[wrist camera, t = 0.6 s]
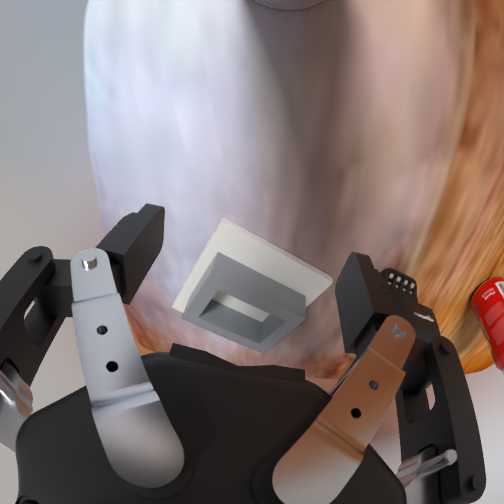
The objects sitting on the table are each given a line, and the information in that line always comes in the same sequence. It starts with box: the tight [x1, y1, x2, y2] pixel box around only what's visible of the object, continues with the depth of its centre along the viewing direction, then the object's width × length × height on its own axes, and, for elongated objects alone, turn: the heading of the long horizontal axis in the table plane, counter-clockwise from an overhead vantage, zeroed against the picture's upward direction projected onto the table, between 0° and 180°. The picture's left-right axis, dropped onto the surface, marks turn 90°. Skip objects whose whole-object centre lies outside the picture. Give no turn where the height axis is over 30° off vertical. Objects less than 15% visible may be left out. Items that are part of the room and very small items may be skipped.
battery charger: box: [380, 268, 440, 343], centre depth 30 cm, size 7×4×11 cm, turn 68°
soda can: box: [471, 277, 504, 374], centre depth 29 cm, size 8×8×15 cm
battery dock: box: [172, 218, 333, 353], centre depth 37 cm, size 18×16×5 cm
